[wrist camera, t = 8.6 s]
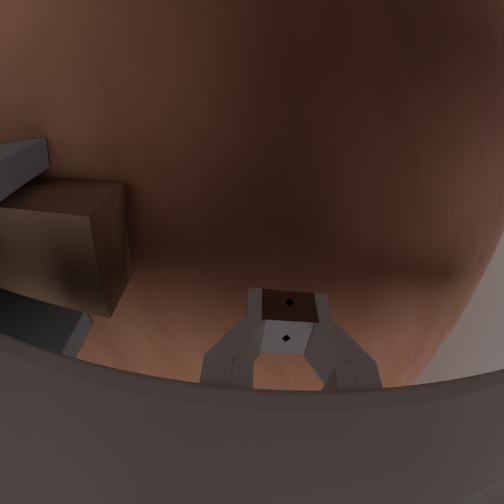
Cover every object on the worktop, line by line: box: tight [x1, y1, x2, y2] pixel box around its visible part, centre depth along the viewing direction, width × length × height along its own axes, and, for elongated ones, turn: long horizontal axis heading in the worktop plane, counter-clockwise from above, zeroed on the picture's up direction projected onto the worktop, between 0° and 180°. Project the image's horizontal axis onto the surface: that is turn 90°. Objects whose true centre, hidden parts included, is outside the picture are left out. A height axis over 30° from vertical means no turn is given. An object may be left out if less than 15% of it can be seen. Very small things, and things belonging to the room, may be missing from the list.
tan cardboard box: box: [0, 177, 133, 318], centre depth 12 cm, size 5×12×4 cm, turn 82°
